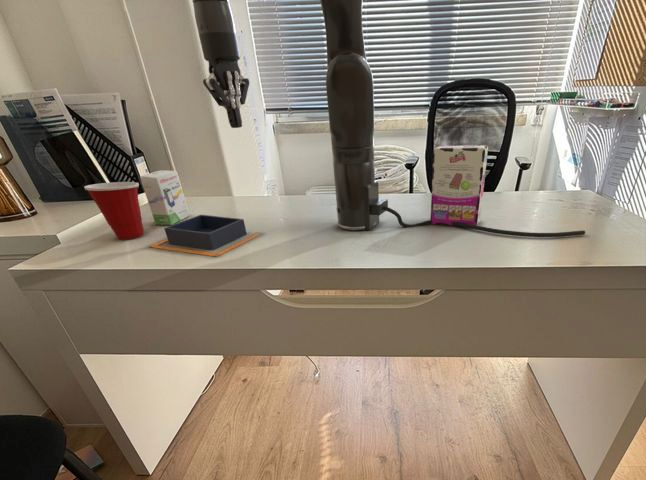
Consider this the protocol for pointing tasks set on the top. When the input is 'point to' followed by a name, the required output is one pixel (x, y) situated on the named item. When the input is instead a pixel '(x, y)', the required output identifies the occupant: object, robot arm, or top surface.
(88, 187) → the plastic cup
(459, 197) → the candy bar box
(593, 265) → the top surface
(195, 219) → the dark blue tray
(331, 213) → the top surface
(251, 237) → the tape marks
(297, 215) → the top surface
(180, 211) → the ink box
